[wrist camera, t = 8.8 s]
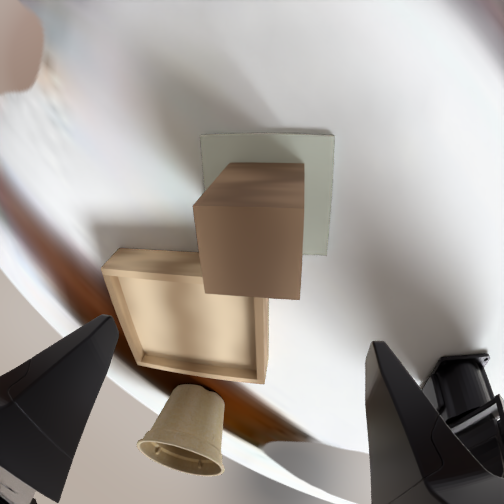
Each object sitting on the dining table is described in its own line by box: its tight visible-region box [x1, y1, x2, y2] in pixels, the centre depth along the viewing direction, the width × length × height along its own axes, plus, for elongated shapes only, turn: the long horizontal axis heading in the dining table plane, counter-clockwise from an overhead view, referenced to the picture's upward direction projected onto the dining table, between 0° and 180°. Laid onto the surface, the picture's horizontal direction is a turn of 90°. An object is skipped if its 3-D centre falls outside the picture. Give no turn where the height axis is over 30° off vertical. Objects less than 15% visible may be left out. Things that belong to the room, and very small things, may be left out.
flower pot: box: [137, 384, 225, 476], centre depth 30 cm, size 9×9×9 cm
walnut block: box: [193, 162, 305, 300], centre depth 16 cm, size 4×4×7 cm
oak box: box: [101, 248, 269, 384], centre depth 24 cm, size 12×11×3 cm
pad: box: [200, 133, 335, 256], centre depth 20 cm, size 8×8×1 cm
